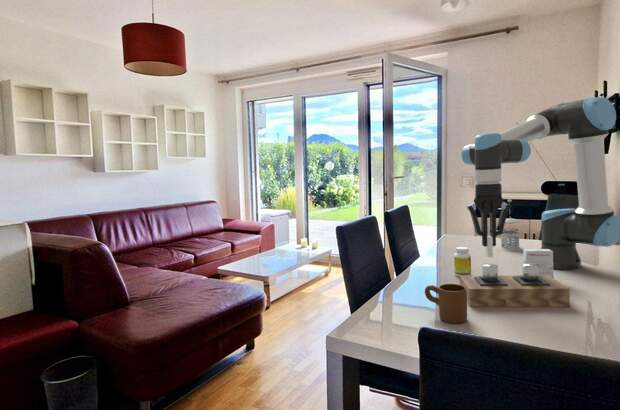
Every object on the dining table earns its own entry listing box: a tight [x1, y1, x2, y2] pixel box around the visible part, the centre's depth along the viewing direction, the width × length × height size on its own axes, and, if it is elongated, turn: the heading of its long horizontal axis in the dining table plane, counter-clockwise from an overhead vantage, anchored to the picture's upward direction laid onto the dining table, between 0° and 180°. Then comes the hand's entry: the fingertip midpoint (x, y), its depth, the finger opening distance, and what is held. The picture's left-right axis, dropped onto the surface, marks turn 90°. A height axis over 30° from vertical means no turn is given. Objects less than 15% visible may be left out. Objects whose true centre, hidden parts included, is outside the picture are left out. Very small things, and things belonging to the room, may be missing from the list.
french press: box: [496, 198, 522, 252], centre depth 185 cm, size 10×12×25 cm
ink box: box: [522, 248, 555, 279], centre depth 134 cm, size 9×5×12 cm, turn 71°
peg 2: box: [522, 262, 539, 282], centre depth 118 cm, size 4×4×6 cm
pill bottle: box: [453, 246, 472, 278], centre depth 148 cm, size 6×6×11 cm
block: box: [459, 274, 571, 308], centre depth 120 cm, size 28×14×6 cm, turn 79°
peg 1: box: [482, 262, 499, 283], centre depth 120 cm, size 4×4×6 cm
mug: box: [424, 283, 468, 325], centre depth 108 cm, size 12×8×9 cm, turn 51°
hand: (489, 256), depth 120 cm, fingers closed
